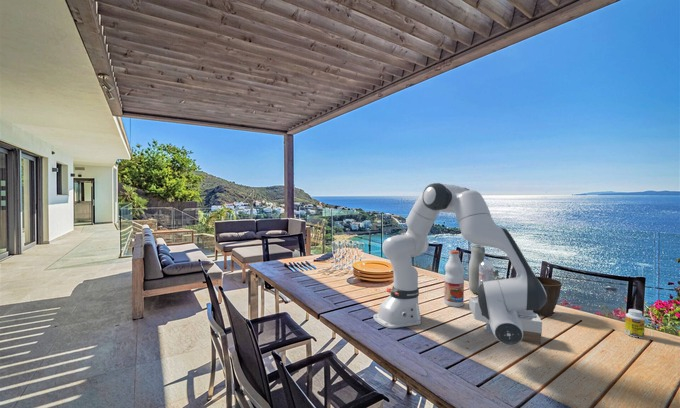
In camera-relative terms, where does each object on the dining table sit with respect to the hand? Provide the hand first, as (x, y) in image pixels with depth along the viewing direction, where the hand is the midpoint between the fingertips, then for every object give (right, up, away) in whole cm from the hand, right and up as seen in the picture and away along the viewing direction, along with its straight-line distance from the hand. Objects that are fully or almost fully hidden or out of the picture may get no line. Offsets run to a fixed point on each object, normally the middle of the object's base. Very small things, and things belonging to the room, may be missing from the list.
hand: (497, 300), depth 111 cm
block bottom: (+15, -17, +6) cm, 24 cm away
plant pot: (+37, -16, +30) cm, 50 cm away
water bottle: (+15, -16, +40) cm, 46 cm away
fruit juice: (0, -16, +42) cm, 45 cm away
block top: (+15, -13, +6) cm, 21 cm away
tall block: (+5, -17, +12) cm, 21 cm away
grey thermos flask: (+20, -15, +58) cm, 63 cm away
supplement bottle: (+60, -17, +7) cm, 63 cm away
